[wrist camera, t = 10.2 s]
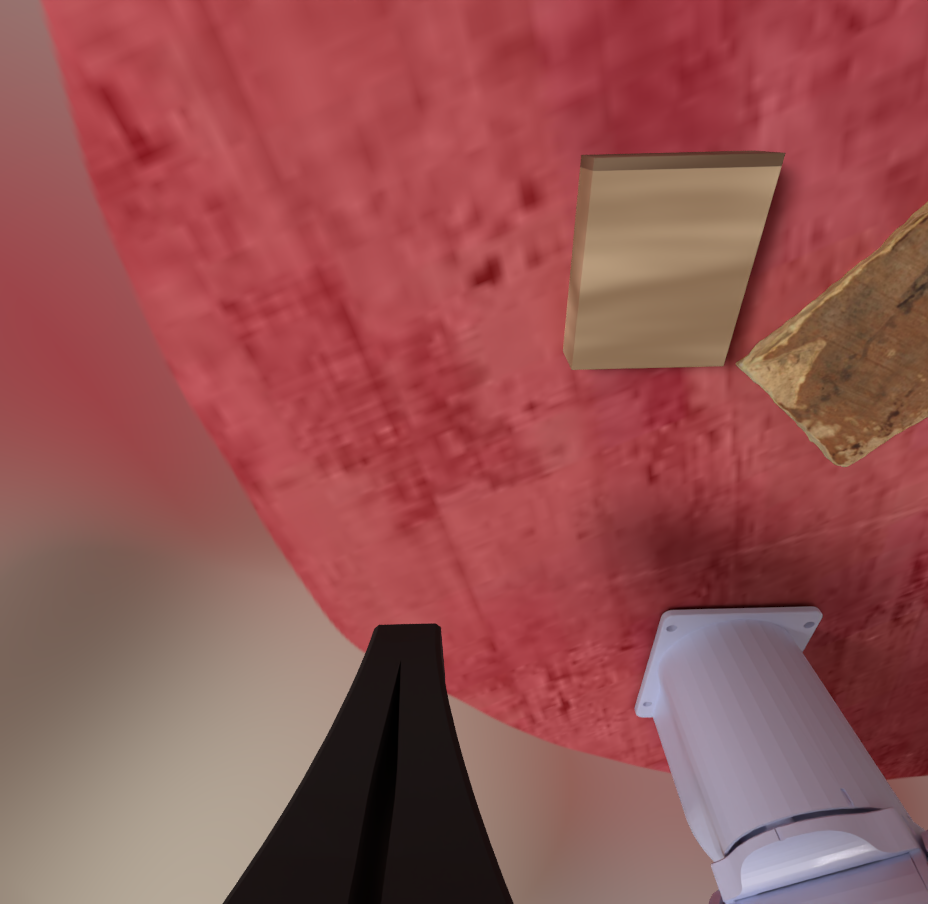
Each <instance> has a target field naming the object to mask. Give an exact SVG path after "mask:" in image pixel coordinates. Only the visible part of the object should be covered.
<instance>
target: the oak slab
mask: <svg viewBox="0 0 928 904" xmlns="http://www.w3.org/2000/svg"><path fill="white" fill-rule="evenodd" d="M784 156H785V153H778V152H765V151H720V152H681V153H642V154H603V155H581V165H580V175H579V186H578V196H577V207H576V218H575V228H574V239H573V250H572V260H571V271H570V282H569V292H568V303H567V313H566V324H565V335H564V345H563V352H564V354H565V357H566V359H567V361H568V363H569V365H570V367H571V370H580V369H622V368H665V367H707V366H724V362H725V359H726V355H727V352H728V349H729V345H730V342H731V338H732V335H733V331H734V328H735V325H736V321H737V318H738V314H739V311H740V307H741V304H742V300H743V297H744V294H745V290H746V287H747V283H748V280H749V276H750V273H751V270H752V266H753V263H754V259H755V256H756V252H757V249H758V245H759V242H760V239H761V235H762V232H763V228H764V225H765V221H766V218H767V215H768V211H769V208H770V204H771V201H772V197H773V194H774V190H775V187H776V184H777V180H778V177H779V173H780V170H781V166H782V163H783V160H784Z"/></svg>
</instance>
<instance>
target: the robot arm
mask: <svg viewBox="0 0 928 904" xmlns="http://www.w3.org/2000/svg"><path fill="white" fill-rule="evenodd" d="M822 616H823V615H822V613H821V611H820V610H819V609H818V608H817V607H813V606H805V607H766V608H726V609H687V610H669V611H666V612H665V613H663V615H662V616H661V619H660V623H659V626H658V630H657V633H656V636H655V640H654V643H653V647H652V650H651V653H650V657H649V660H648V664H647V667H646V671H645V674H644V677H643V681H642V684H641V688H640V691H639V694H638V698H637V701H636V705H635V712H636V715H637V716H639V717H653V719H654V722H655V725H656V728H657V731H658V734H659V737H660V740H661V743H662V746H663V749H664V752H665V755H666V758H667V761H668V764H669V767H670V770H671V773H672V776H673V779H674V782H675V785H676V788H677V791H678V795H679V798H680V801H681V804H682V807H683V810H684V813H685V816H686V819H687V821H688V824H689V826H690V828H691V831H692V833H693V835H694V836H695V838H696V839H697V841H698V843H699V844H700V846H701V847H702V848H703V850H704V851H705V852H706V853H707V854H708V856H709V857H710V858H711V859H712V860H713V861H714V862H713V863H712V864H711V867H712V870H713V873H714V876H715V879H716V882H717V885H718V888H719V890H717V891H716V892H715V893H713V894H712V896H711V898H710V901H709V904H928V830H926V831H925V830H924V829H923V828H921V827H920V826H919V825H917V824H916V823H915V822H913V820H912V819H911V817H910V816H909V814H908V813H907V811H906V810H905V808H904V806H903V805H902V803H901V802H900V800H899V799H898V797H897V796H896V794H895V793H894V791H893V790H892V788H891V787H890V785H889V784H888V782H887V781H886V779H885V777H884V776H883V774H882V773H881V771H880V770H879V768H878V767H877V765H876V764H875V762H874V761H873V759H872V758H871V756H870V755H869V753H868V752H867V750H866V749H865V747H864V745H863V744H862V742H861V741H860V739H859V738H858V736H857V735H856V733H855V732H854V730H853V729H852V727H851V726H850V724H849V723H848V721H847V720H846V718H845V717H844V715H843V714H842V712H841V710H840V709H839V707H838V706H837V704H836V703H835V701H834V700H833V698H832V697H831V695H830V694H829V692H828V691H827V689H826V688H825V686H824V685H823V683H822V682H821V680H820V678H819V677H818V675H817V674H816V672H815V671H814V669H813V668H812V666H811V665H810V663H809V662H808V660H807V659H806V657H805V656H804V654H803V653H802V652H803V650H804V649H805V647H806V645H807V643H808V642H809V640H810V638H811V636H812V635H813V633H814V631H815V629H816V628H817V626H818V624H819V622H820V621H821V619H822ZM223 904H513V901H512V899H511V896H510V894H509V891H508V889H507V886H506V884H505V881H504V879H503V876H502V873H501V870H500V868H499V865H498V862H497V859H496V857H495V854H494V851H493V848H492V846H491V843H490V840H489V837H488V834H487V832H486V829H485V826H484V823H483V820H482V817H481V814H480V811H479V808H478V805H477V802H476V799H475V796H474V793H473V790H472V786H471V783H470V780H469V777H468V773H467V770H466V767H465V763H464V760H463V757H462V753H461V749H460V745H459V742H458V738H457V734H456V730H455V726H454V722H453V717H452V713H451V709H450V705H449V700H448V695H447V690H446V684H445V670H444V659H443V647H442V636H441V627H440V626H438V625H437V624H396V625H378V626H377V627H376V628H375V629H374V631H373V634H372V637H371V640H370V643H369V645H368V648H367V651H366V653H365V656H364V658H363V660H362V663H361V665H360V668H359V670H358V672H357V675H356V677H355V679H354V681H353V683H352V686H351V688H350V690H349V692H348V694H347V696H346V698H345V700H344V702H343V704H342V706H341V708H340V711H339V712H338V714H337V717H336V719H335V720H334V723H333V725H332V727H331V729H330V730H329V733H328V734H327V736H326V738H325V740H324V742H323V744H322V745H321V747H320V749H319V751H318V753H317V754H316V756H315V758H314V760H313V762H312V763H311V765H310V767H309V769H308V771H307V772H306V774H305V776H304V778H303V780H302V782H301V783H300V785H299V787H298V788H297V790H296V792H295V793H294V795H293V797H292V798H291V800H290V802H289V803H288V805H287V807H286V808H285V810H284V812H283V813H282V815H281V816H280V818H279V820H278V821H277V823H276V824H275V826H274V828H273V829H272V831H271V832H270V834H269V835H268V837H267V839H266V840H265V842H264V843H263V845H262V846H261V848H260V849H259V851H258V852H257V854H256V855H255V857H254V858H253V860H252V861H251V863H250V864H249V866H248V867H247V869H246V870H245V872H244V873H243V875H242V876H241V878H240V879H239V880H238V882H237V884H236V885H235V887H234V888H233V890H232V891H231V892H230V894H229V895H228V896H227V898H226V899H225V901H224V903H223Z"/></svg>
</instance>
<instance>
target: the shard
mask: <svg viewBox="0 0 928 904" xmlns="http://www.w3.org/2000/svg"><path fill="white" fill-rule="evenodd" d="M736 366H737V367H739V368H740V369H741V370H742V371H743V372H745V373H746V375H747V376H749V377H750V378H751V380H752V381H753V382H755V383H757V384H759V385H760V386H761V387H762V388H763V390H765V391H766V392H767V393H768V394H769V395H770V397H771V398H772V399H773V401H774V402H775V403H776V404H777V405H778V406H779V407H780V408H781V409H783V410H784V411H785V412H786V414H787V415H788V416H790V417H791V418H792V419H793V420H794V421H795V422H796V423H797V425H798V426H799V427H800V428H801V429H802V430H803V431H804V432H805V433H806V435H807V436H808V438H809V440H810V441H811V442H813V443H815V444H816V445H817V446H818V447H819V449H820V450H821V451H822V452H823V454H824V456H825V457H826V458H828V459H829V460H830V461H831V462H832V463H833V464H835V465H838V466H842V467H847V466H849V465H851V464H853V463H855V462H856V461H858V460H859V459H861V458H863V457H864V456H866V455H867V454H868V453H870V452H871V451H873V450H874V449H876V448H877V447H878V446H879V445H881V444H883V443H885V442H886V441H888V440H889V439H890V438H891V437H893V436H894V435H896V434H898V433H900V432H902V431H904V430H905V429H907V428H908V427H910V426H912V425H915V424H917V423H919V422H920V421H922V420H923V419H925V418H926V417H928V202H927V203H926V204H925V205H923V206H922V207H921V208H920V209H919V210H917V211H916V212H915V213H913V214H912V215H911V216H910V218H909V219H908V220H907V222H906V223H905V224H903V225H902V226H900V227H899V228H897V229H896V230H895V231H894V232H893V233H892V234H891V235H890V236H889V237H888V238H887V240H886V241H885V242H884V243H883V245H882V246H881V247H880V248H879V249H878V250H876V251H875V252H873V253H872V254H871V255H870V256H869V257H867V258H866V259H864V260H862V261H861V262H860V263H858V264H857V265H856V266H855V267H854V268H853V269H851V270H850V271H848V272H847V273H846V274H845V275H844V276H843V277H842V278H841V279H840V280H839V281H837V282H835V283H834V284H832V285H831V286H830V287H829V288H828V289H827V290H826V291H825V292H824V293H822V294H821V295H820V296H819V297H818V298H817V299H816V300H813V301H812V302H811V303H810V304H808V305H807V306H806V307H805V308H804V309H803V310H802V311H801V312H800V313H798V314H797V315H796V316H794V317H793V318H791V319H790V320H788V321H786V322H785V323H784V324H783V325H782V326H781V327H780V328H778V329H777V330H775V331H774V332H773V333H771V334H770V335H769V336H767V337H766V338H765V339H763V340H761V341H760V342H759V343H758V344H756V345H755V347H754V348H753V349H752V350H751V352H750V353H749V354H748V355H747V356H745V357H744V358H742V359H741V360H739V361H738V362H736Z"/></svg>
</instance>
